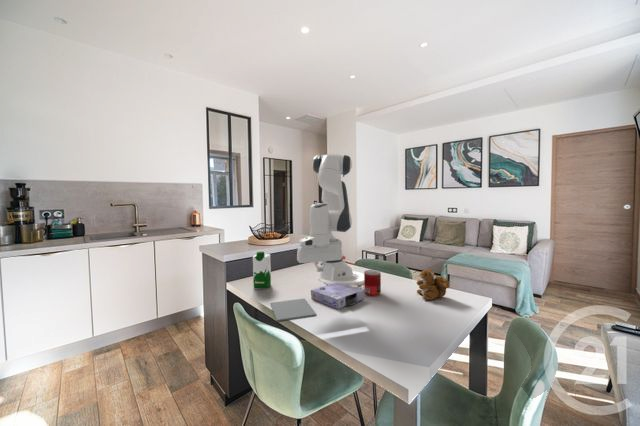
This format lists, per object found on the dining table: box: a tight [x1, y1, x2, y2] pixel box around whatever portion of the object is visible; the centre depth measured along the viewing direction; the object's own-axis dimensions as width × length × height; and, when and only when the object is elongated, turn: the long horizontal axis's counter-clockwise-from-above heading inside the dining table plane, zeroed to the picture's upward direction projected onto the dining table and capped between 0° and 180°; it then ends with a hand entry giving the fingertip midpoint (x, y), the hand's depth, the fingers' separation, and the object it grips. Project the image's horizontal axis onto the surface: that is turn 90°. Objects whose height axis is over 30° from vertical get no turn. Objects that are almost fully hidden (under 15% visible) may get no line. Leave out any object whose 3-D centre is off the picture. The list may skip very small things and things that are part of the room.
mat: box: [270, 298, 317, 322], centre depth 114 cm, size 16×19×1 cm
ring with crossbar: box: [319, 270, 364, 289], centre depth 157 cm, size 28×28×5 cm
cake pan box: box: [310, 283, 365, 310], centre depth 125 cm, size 19×5×18 cm
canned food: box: [363, 269, 382, 297], centre depth 133 cm, size 8×8×11 cm
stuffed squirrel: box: [416, 268, 451, 301], centre depth 127 cm, size 10×14×13 cm
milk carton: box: [252, 251, 272, 289], centre depth 144 cm, size 9×9×20 cm
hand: (320, 271), depth 118 cm, fingers closed
